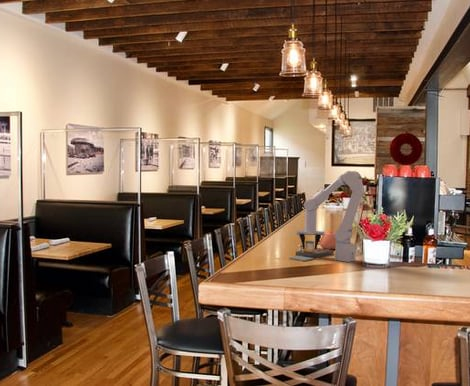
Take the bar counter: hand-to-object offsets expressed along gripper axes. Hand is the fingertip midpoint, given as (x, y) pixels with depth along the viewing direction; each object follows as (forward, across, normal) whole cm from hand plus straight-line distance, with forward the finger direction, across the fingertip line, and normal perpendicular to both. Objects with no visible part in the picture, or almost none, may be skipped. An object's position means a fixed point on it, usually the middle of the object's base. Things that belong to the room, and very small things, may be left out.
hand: (309, 249), depth 253 cm
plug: (+3, 0, 0) cm, 3 cm away
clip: (+1, -5, +3) cm, 6 cm away
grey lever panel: (+3, +3, +4) cm, 6 cm away
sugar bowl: (+4, +15, +26) cm, 30 cm away
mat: (+3, -5, -10) cm, 12 cm away
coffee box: (+4, +34, +14) cm, 37 cm away
